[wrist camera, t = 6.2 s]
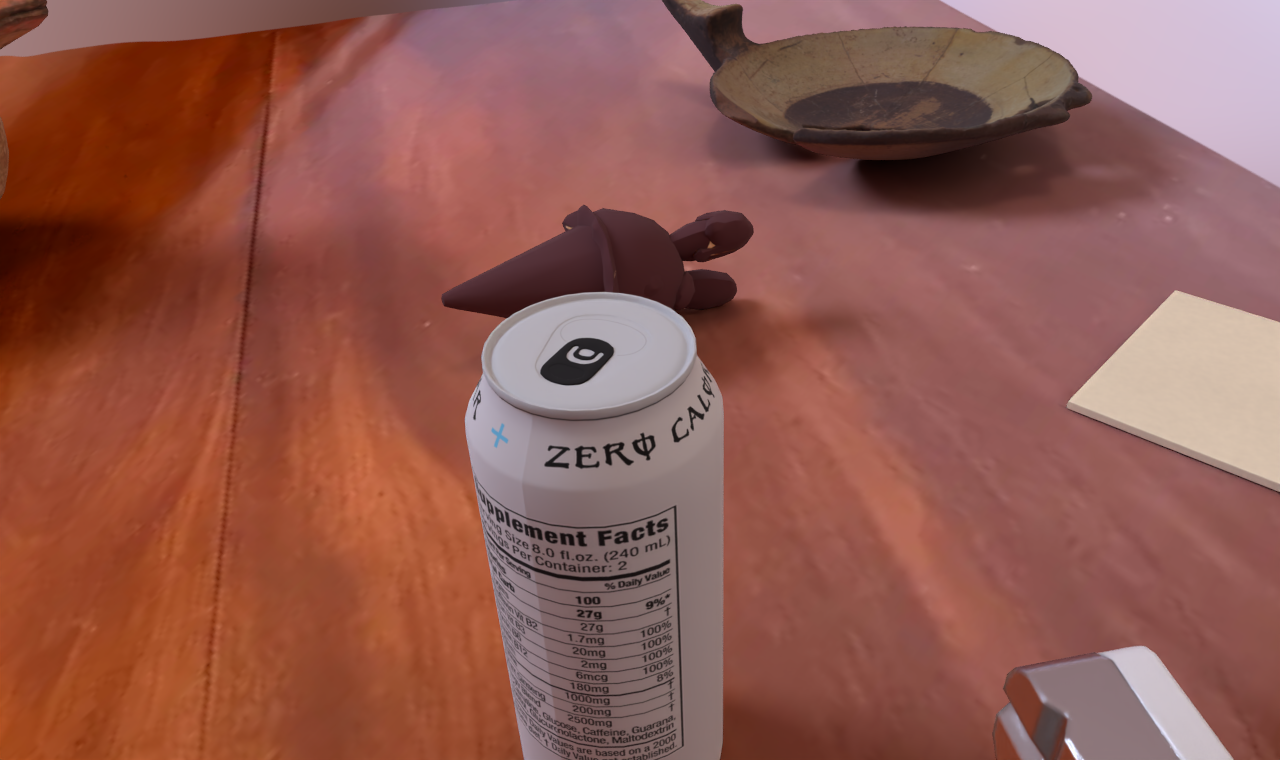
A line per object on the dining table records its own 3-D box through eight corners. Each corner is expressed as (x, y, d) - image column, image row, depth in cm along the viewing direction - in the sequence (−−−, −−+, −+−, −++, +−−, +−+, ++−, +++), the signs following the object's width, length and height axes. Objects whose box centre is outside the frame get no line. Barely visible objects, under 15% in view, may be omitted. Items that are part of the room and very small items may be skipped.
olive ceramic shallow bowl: (867, 258, 57) (879, 122, 52) (612, 97, 79) (605, -8, 74) (1153, 161, 65) (1185, 37, 60) (850, 41, 87) (857, -57, 82)
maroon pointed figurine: (457, 298, 42) (789, 254, 47) (423, 187, 47) (729, 156, 51) (458, 410, 48) (758, 360, 52) (428, 299, 52) (706, 263, 57)
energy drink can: (754, 718, 33) (766, 311, 24) (665, 883, 29) (642, 461, 20) (591, 650, 35) (549, 260, 27) (486, 792, 31) (397, 383, 23)
